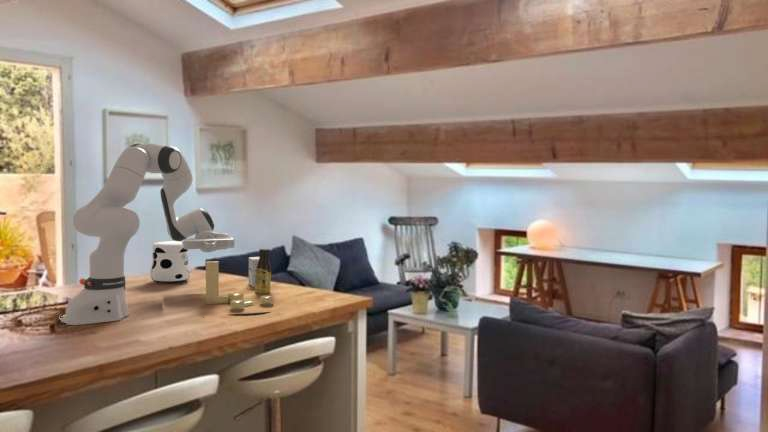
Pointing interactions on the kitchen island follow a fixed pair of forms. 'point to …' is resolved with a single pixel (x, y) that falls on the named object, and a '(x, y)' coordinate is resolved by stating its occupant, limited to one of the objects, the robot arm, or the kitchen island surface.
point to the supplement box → (252, 270)
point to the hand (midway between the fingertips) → (210, 245)
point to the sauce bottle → (263, 273)
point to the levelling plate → (239, 305)
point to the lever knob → (217, 286)
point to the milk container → (170, 262)
